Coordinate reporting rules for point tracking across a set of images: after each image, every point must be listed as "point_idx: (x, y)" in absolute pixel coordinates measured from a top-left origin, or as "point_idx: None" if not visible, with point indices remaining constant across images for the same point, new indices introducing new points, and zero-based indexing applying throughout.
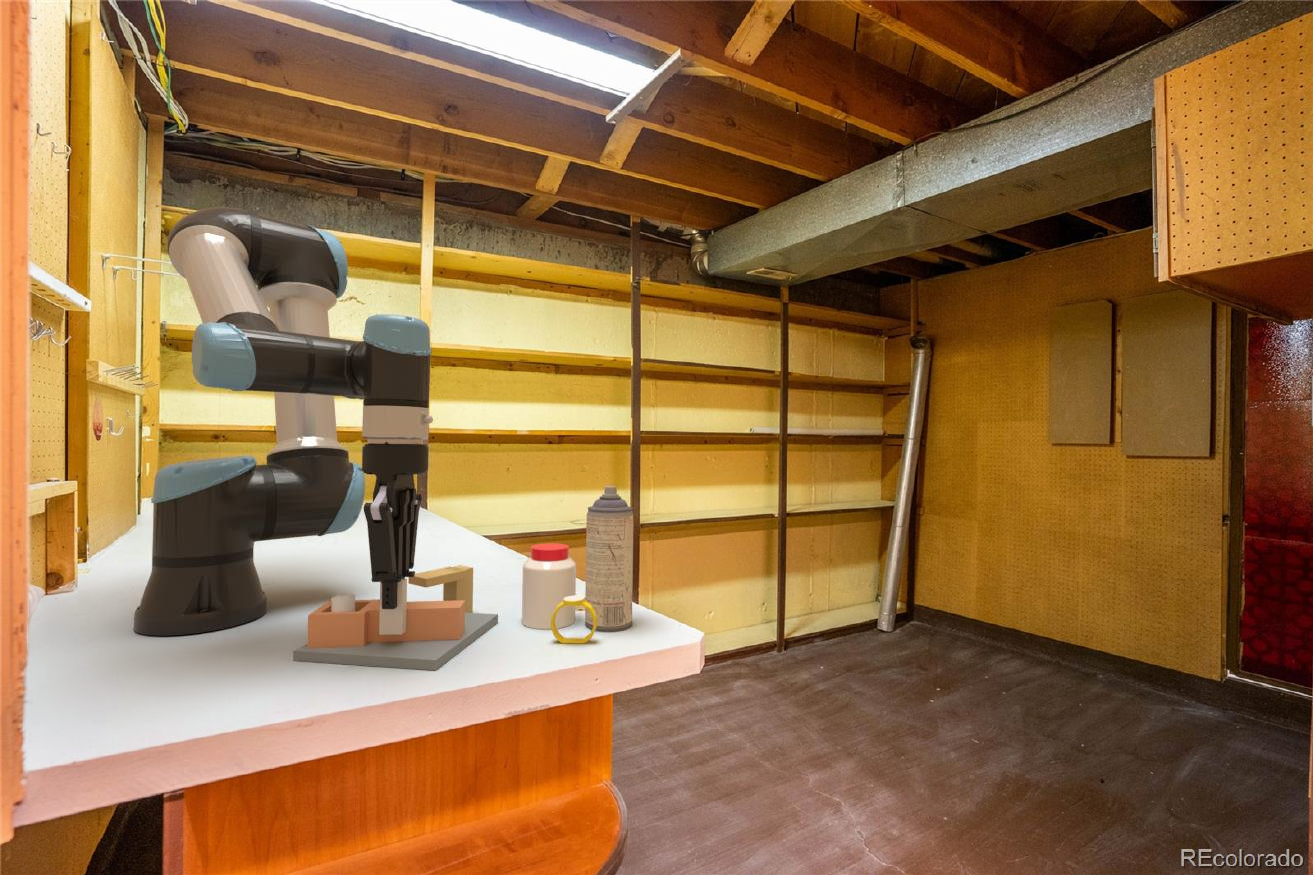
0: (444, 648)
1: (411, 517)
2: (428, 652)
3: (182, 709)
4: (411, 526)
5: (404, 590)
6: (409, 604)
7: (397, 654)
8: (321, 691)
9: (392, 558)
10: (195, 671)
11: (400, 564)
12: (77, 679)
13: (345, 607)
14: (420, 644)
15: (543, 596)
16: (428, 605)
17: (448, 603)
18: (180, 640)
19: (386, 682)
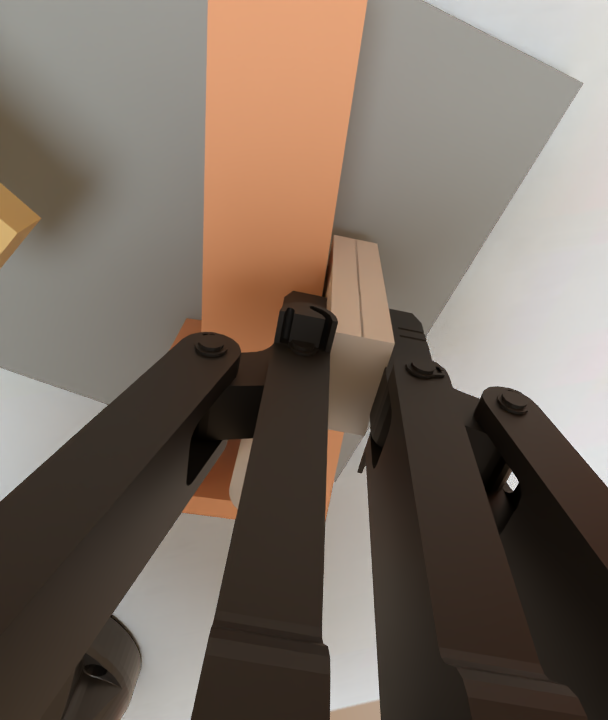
0: (460, 59)
1: (304, 696)
2: (484, 123)
3: None
4: (82, 563)
5: (365, 312)
6: (252, 262)
7: (463, 231)
8: (573, 373)
9: (597, 489)
10: (347, 585)
11: (428, 413)
12: (336, 684)
13: None
14: (379, 165)
15: None
16: (284, 174)
17: (265, 67)
18: (162, 640)
19: (592, 231)
